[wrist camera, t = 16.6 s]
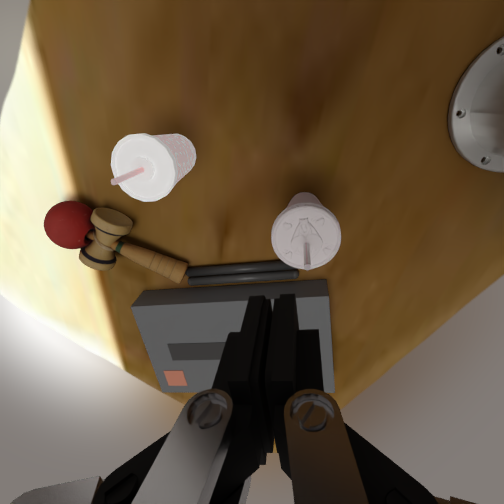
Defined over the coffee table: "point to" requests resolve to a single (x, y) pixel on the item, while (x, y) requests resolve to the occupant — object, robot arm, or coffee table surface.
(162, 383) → the switch panel
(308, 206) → the smoothie
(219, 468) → the robot arm
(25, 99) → the coffee table surface
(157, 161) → the beverage cup
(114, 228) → the kendama
